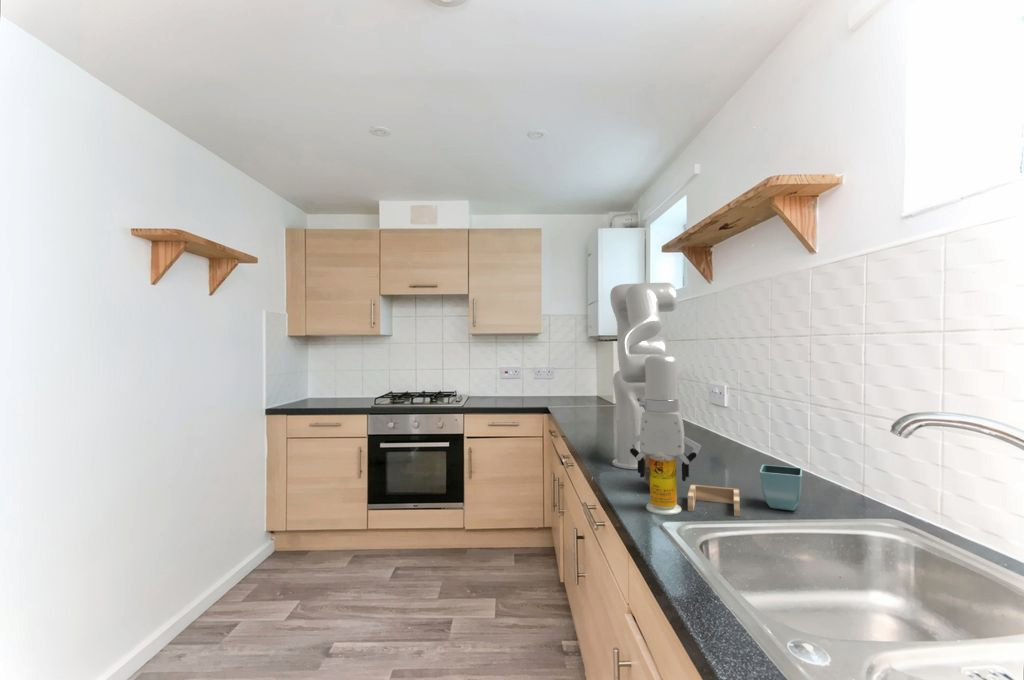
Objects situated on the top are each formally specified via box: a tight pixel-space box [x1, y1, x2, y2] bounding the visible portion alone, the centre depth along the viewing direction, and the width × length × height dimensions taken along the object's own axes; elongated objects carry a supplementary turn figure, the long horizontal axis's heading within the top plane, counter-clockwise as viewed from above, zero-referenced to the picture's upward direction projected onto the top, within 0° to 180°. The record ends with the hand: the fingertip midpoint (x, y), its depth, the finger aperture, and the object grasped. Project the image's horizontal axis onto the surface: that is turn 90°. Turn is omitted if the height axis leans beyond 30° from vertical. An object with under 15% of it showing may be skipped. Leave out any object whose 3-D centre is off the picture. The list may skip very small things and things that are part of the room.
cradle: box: [687, 484, 741, 517], centre depth 120 cm, size 11×11×4 cm
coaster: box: [646, 502, 682, 516], centre depth 119 cm, size 8×8×1 cm
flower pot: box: [759, 464, 803, 511], centre depth 120 cm, size 9×9×9 cm
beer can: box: [649, 451, 678, 510], centre depth 119 cm, size 6×6×15 cm
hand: (663, 478), depth 119 cm, fingers open, 9 cm apart
